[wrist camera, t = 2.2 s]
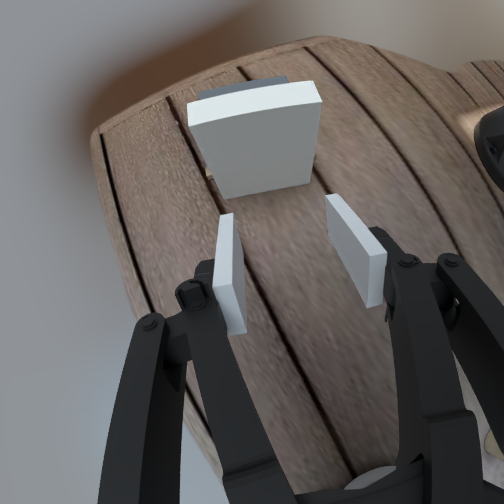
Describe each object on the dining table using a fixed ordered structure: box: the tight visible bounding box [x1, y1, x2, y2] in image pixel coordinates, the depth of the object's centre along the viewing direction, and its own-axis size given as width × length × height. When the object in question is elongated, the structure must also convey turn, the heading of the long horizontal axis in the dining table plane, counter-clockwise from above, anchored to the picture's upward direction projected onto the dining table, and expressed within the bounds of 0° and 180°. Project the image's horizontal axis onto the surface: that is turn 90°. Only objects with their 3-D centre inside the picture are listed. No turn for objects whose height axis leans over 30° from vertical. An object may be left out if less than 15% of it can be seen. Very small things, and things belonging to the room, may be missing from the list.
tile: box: [187, 81, 322, 200], centre depth 26 cm, size 3×10×14 cm, turn 100°
